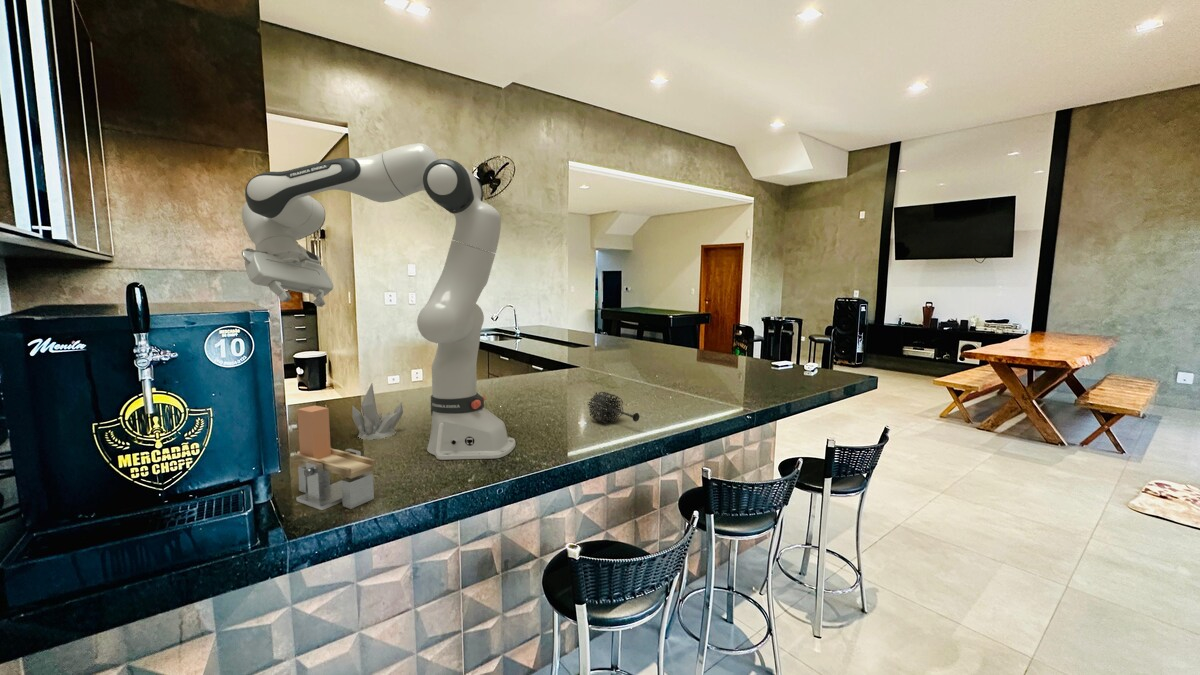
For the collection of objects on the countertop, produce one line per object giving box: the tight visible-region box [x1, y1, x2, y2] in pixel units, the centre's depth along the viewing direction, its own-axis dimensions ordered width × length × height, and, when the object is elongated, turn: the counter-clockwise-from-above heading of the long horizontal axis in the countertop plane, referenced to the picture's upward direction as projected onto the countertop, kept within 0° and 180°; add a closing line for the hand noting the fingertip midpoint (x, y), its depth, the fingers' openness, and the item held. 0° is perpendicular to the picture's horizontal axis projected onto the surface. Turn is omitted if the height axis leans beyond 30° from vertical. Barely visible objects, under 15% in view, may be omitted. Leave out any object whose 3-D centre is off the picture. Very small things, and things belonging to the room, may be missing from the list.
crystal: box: [351, 382, 404, 441], centre depth 135 cm, size 10×13×15 cm
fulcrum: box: [295, 448, 375, 511], centre depth 96 cm, size 16×11×8 cm
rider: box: [297, 405, 332, 459], centre depth 98 cm, size 5×4×10 cm
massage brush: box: [587, 391, 640, 425], centre depth 148 cm, size 9×22×9 cm, turn 39°
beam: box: [293, 447, 377, 478], centre depth 95 cm, size 17×6×2 cm, turn 62°
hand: (304, 302), depth 114 cm, fingers open, 8 cm apart
